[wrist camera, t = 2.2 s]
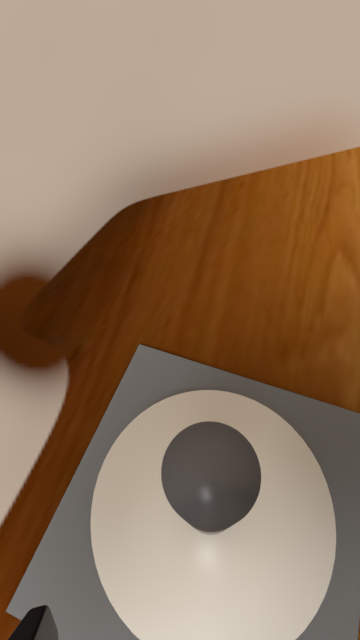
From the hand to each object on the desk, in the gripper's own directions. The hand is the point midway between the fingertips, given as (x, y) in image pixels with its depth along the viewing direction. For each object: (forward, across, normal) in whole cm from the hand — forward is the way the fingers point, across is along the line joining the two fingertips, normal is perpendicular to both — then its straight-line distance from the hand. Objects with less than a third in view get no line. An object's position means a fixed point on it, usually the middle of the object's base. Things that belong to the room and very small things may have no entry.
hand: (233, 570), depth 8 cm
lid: (+8, 0, +5) cm, 10 cm away
